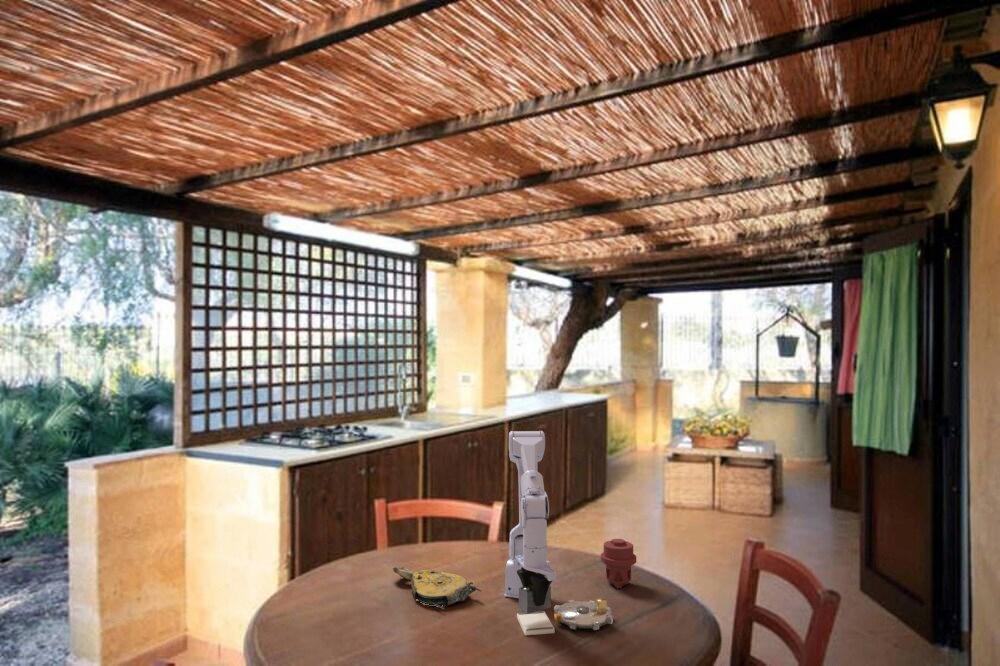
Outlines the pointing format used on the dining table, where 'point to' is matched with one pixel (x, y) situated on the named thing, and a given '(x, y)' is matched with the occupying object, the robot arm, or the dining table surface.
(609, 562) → the mechanical component
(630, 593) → the dining table surface
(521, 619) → the guide plate
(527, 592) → the striped block with rivets
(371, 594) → the dining table surface
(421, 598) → the tan irregular slab
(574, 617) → the sprocket wheel
